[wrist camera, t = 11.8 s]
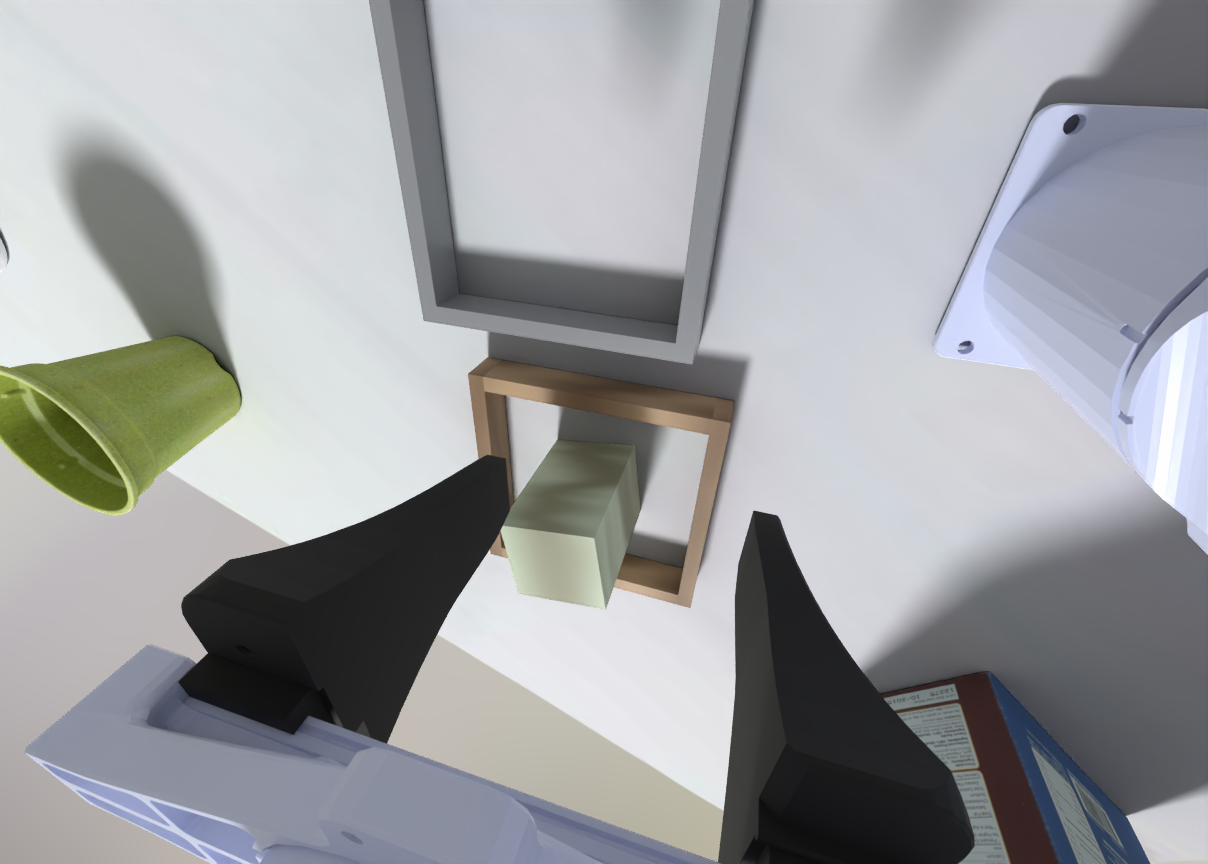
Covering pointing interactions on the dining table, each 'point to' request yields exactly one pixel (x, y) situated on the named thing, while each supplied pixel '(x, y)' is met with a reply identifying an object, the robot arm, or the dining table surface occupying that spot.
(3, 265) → the supplement bottle
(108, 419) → the plant pot
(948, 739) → the protein box
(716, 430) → the brown wooden square frame
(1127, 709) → the dining table surface
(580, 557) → the sage block
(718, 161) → the charcoal bin
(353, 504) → the dining table surface
